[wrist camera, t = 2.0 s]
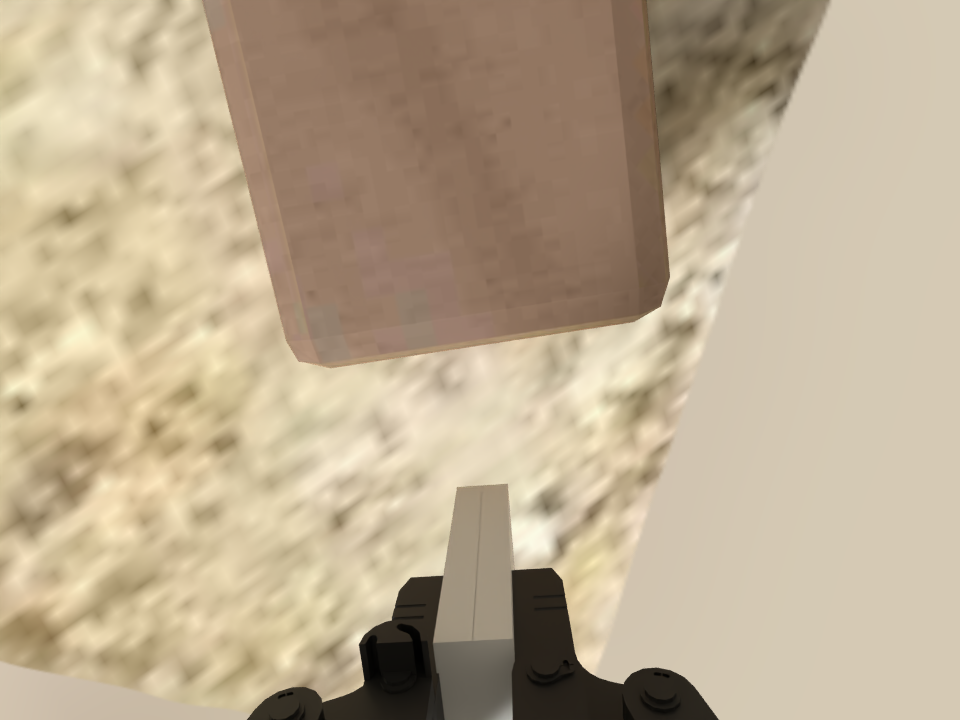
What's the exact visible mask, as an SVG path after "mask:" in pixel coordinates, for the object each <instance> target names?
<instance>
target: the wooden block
mask: <svg viewBox="0 0 960 720" xmlns="http://www.w3.org/2000/svg"><path fill="white" fill-rule="evenodd" d="M202 2H203V6H204V10H205V14H206V18H207V22H208V26H209V30H210V34H211V38H212V42H213V47H214V51H215V55H216V59H217V63H218V67H219V71H220V75H221V79H222V83H223V87H224V91H225V95H226V99H227V103H228V107H229V111H230V115H231V119H232V124H233V128H234V132H235V136H236V140H237V144H238V148H239V152H240V156H241V160H242V164H243V168H244V172H245V176H246V180H247V184H248V188H249V192H250V197H251V201H252V205H253V209H254V213H255V217H256V221H257V225H258V229H259V233H260V237H261V241H262V245H263V249H264V253H265V257H266V261H267V265H268V269H269V274H270V278H271V282H272V286H273V290H274V294H275V298H276V302H277V306H278V310H279V314H280V318H281V322H282V326H283V330H284V334H285V338H286V341H287V343H288V345H289V346H290V348H291V350H292V351H293V353H294V354H295V356H296V358H297V359H298V361H299V362H306V363H311V364H315V365H319V366H323V367H328V368H335V367H342V366H348V365H355V364H361V363H368V362H374V361H381V360H388V359H394V358H401V357H407V356H414V355H420V354H427V353H433V352H440V351H447V350H453V349H460V348H466V347H473V346H479V345H486V344H492V343H499V342H506V341H512V340H519V339H525V338H532V337H538V336H545V335H551V334H558V333H565V332H571V331H578V330H584V329H591V328H597V327H604V326H610V325H617V324H624V323H630V322H635V321H636V320H638V319H640V318H641V317H643V316H645V315H647V314H648V313H650V312H652V311H654V310H655V309H657V308H659V307H661V304H662V301H663V297H664V294H665V291H666V288H667V285H668V281H669V278H670V272H669V260H668V249H667V237H666V225H665V213H664V202H663V190H662V178H661V167H660V155H659V143H658V131H657V120H656V108H655V96H654V84H653V73H652V61H651V49H650V38H649V26H648V14H647V2H646V0H202Z"/></svg>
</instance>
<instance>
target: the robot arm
mask: <svg viewBox="0 0 960 720" xmlns="http://www.w3.org/2000/svg"><path fill="white" fill-rule="evenodd" d="M359 648H360V654H361V661H362V667H363V673H364V680H365V681H364V685H363V686H362V687H361V688H359V689H357V690H356V691H354V692H352V693H350V694H347V695H345V696H342V697H339V698H336V699H332V700H329V701H326V702H323V703H322V699H321V697H320V696H319V695H318V694H317V692H316V691H314V690H311V689H309V688H306V687H292V688H289V689H286V690H282V691H279V692H277V693H275V694H274V695H272V696H270V697H269V698H267V699H265V700H264V701H263V702H262V703H261V704H260V705H259V706H258V707H257V708H256V709H255V710H254V711H253V713H252V714H251V715H250V717H249V718H248V719H247V720H718V718H717V717H716V715H715V714H714V713H713V711H712V710H711V709H710V707H709V706H708V705H707V703H706V702H705V701H704V699H703V698H702V697H701V695H700V694H699V692H698V691H697V690H696V689H695V687H694V686H693V685H692V684H691V683H690V682H689V681H688V680H687V679H685V678H684V677H683V676H681V675H679V674H677V673H675V672H673V671H671V670H666V669H661V668H647V669H641V670H639V671H637V672H634V673H632V674H631V675H630V676H629V677H628V678H627V679H626V681H625V682H624V684H619V683H614V682H610V681H607V680H603V679H600V678H598V677H596V676H594V675H592V674H590V673H589V672H588V671H587V670H586V669H584V668H583V667H582V665H581V664H580V663H579V661H578V660H577V657H576V654H575V650H574V644H573V638H572V632H571V627H570V621H569V615H568V610H567V604H566V598H565V592H564V587H563V581H562V579H561V578H560V577H559V576H558V575H557V573H556V572H555V571H554V570H553V569H552V568H543V569H526V570H515V569H514V555H513V543H512V531H511V519H510V506H509V494H508V484H500V485H485V486H469V487H457V492H456V499H455V505H454V511H453V518H452V524H451V531H450V537H449V543H448V550H447V556H446V563H445V569H444V575H443V576H431V577H414V578H410V579H409V580H408V581H407V583H406V584H405V585H404V586H403V587H402V588H401V589H400V591H399V593H398V597H397V601H396V604H395V608H394V612H393V616H392V621H387V622H384V623H382V624H380V625H378V626H375V627H374V628H372V629H371V630H370V631H369V632H368V633H366V634H365V635H364V637H363V638H362V640H361V642H360V643H359Z"/></svg>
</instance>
